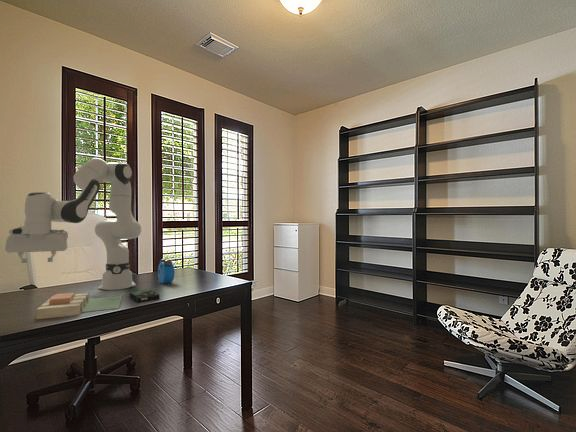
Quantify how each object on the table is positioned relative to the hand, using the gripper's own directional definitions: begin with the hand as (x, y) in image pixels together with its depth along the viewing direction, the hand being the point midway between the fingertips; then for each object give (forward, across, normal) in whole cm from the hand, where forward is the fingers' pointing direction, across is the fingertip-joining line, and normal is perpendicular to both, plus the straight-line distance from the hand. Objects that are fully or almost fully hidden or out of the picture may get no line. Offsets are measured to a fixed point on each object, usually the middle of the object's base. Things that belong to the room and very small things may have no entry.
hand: (37, 262), depth 126 cm
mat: (+21, -24, -3) cm, 32 cm away
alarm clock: (+21, -53, -40) cm, 70 cm away
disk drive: (+22, -41, -8) cm, 47 cm away
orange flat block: (+17, -9, 0) cm, 19 cm away
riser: (+21, -10, 0) cm, 23 cm away
